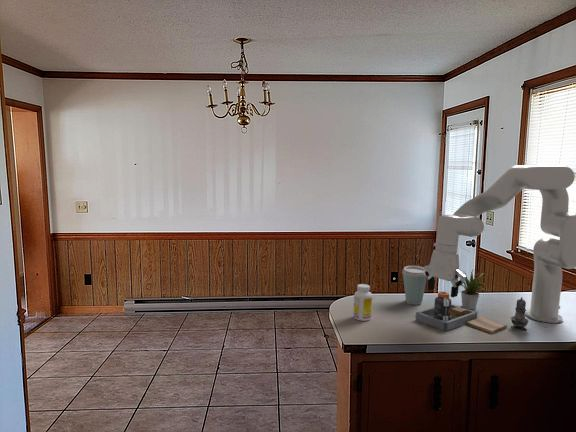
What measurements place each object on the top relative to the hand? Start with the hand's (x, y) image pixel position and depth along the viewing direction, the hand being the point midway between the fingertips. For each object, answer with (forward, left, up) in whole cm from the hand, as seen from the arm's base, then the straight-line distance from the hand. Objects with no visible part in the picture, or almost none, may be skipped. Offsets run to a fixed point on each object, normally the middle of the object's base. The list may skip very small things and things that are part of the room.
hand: (442, 293), depth 160 cm
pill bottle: (-1, 0, -11) cm, 11 cm away
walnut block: (-9, +2, -11) cm, 14 cm away
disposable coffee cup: (-10, -20, -11) cm, 25 cm away
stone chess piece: (-19, +20, -11) cm, 30 cm away
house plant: (-24, -4, -11) cm, 26 cm away
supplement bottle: (+22, -19, -11) cm, 31 cm away
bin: (-4, 0, -11) cm, 12 cm away
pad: (-11, +12, -11) cm, 20 cm away
